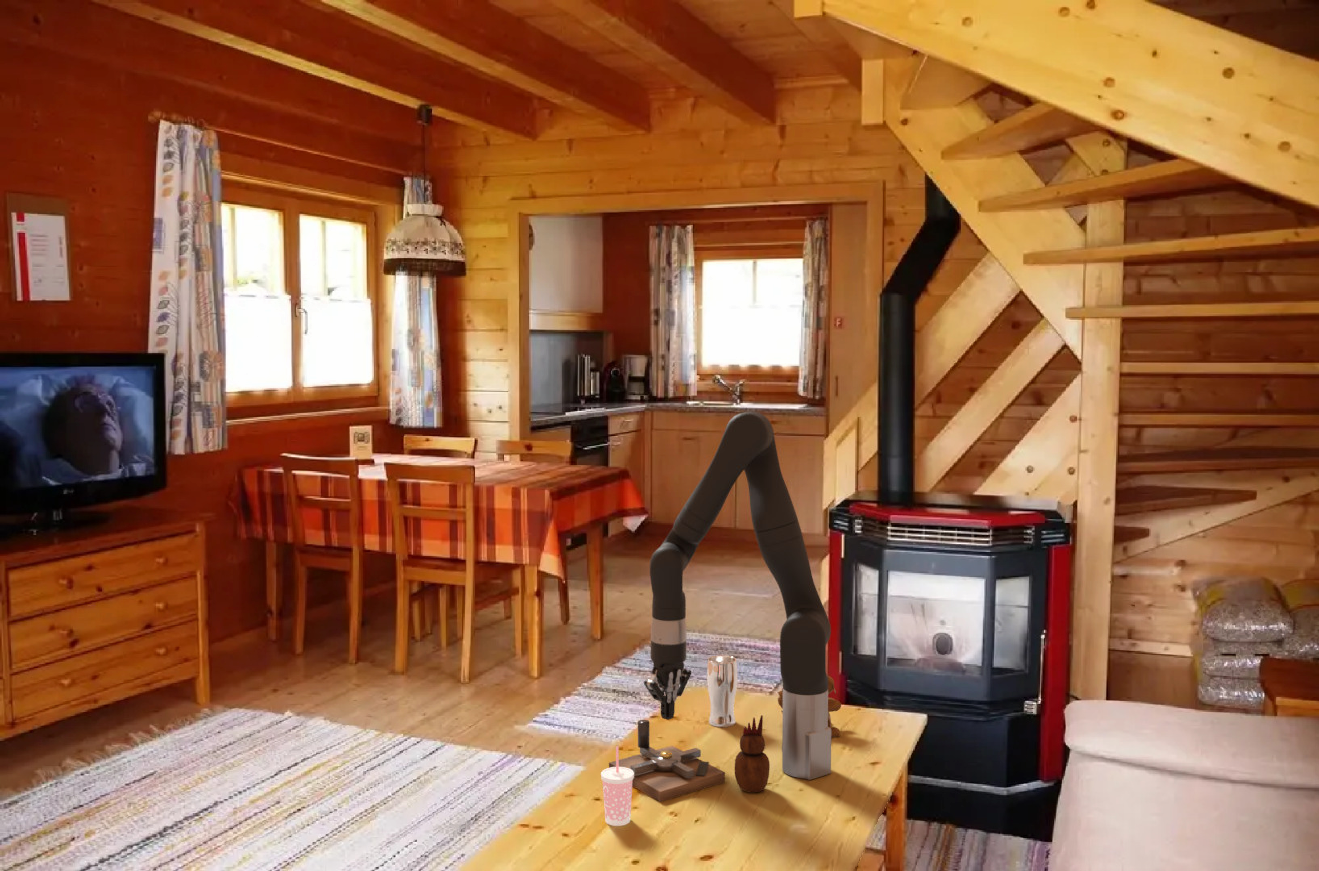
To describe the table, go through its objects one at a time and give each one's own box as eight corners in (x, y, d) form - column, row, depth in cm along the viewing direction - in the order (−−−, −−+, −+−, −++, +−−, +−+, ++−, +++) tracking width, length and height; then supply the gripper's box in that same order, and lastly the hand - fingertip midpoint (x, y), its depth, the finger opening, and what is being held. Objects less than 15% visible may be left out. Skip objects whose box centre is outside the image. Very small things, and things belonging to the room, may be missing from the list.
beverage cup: (602, 813, 203) (601, 740, 202) (635, 813, 203) (634, 740, 202) (599, 827, 197) (599, 752, 196) (633, 827, 197) (632, 752, 196)
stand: (726, 781, 218) (726, 770, 218) (659, 802, 208) (659, 790, 208) (673, 754, 232) (673, 743, 232) (608, 772, 223) (607, 761, 223)
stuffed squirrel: (843, 738, 242) (844, 680, 241) (780, 738, 242) (780, 680, 241) (836, 722, 252) (837, 666, 251) (775, 722, 252) (776, 666, 251)
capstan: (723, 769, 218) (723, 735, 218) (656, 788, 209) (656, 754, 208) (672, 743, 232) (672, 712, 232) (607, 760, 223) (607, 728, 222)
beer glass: (738, 728, 248) (738, 663, 247) (707, 728, 248) (707, 663, 247) (736, 717, 255) (736, 655, 254) (706, 717, 255) (706, 655, 254)
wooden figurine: (773, 787, 215) (773, 713, 214) (763, 798, 210) (763, 722, 209) (741, 781, 218) (741, 708, 217) (730, 792, 213) (730, 717, 211)
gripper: (660, 648, 221) (659, 730, 223) (702, 635, 231) (701, 714, 232) (633, 640, 226) (633, 721, 228) (675, 628, 236) (674, 706, 237)
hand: (667, 718), depth 230 cm, fingers closed
